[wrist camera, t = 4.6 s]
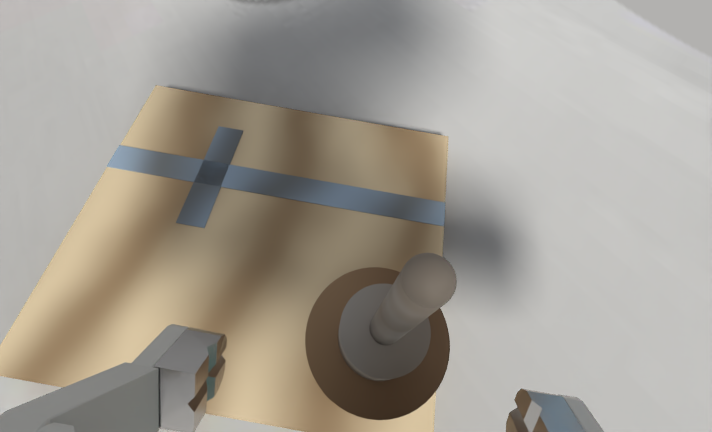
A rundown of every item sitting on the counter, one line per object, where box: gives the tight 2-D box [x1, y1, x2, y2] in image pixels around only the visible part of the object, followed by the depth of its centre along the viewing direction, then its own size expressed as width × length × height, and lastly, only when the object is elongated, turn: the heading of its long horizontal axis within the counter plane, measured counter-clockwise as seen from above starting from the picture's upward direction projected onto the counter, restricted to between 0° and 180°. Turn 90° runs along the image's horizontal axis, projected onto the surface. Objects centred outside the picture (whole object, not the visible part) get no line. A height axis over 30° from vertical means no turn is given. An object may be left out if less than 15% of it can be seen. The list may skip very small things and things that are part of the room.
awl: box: [305, 253, 457, 420], centre depth 10 cm, size 4×4×14 cm
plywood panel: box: [0, 85, 448, 432], centre depth 20 cm, size 20×18×1 cm
